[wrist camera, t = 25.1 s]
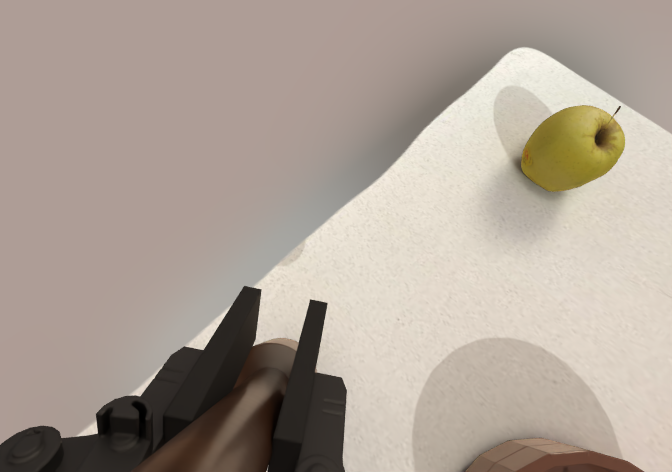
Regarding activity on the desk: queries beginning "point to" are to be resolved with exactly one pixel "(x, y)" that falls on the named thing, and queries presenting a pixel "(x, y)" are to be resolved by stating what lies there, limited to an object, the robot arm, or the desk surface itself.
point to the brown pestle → (234, 420)
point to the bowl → (546, 458)
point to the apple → (572, 148)
